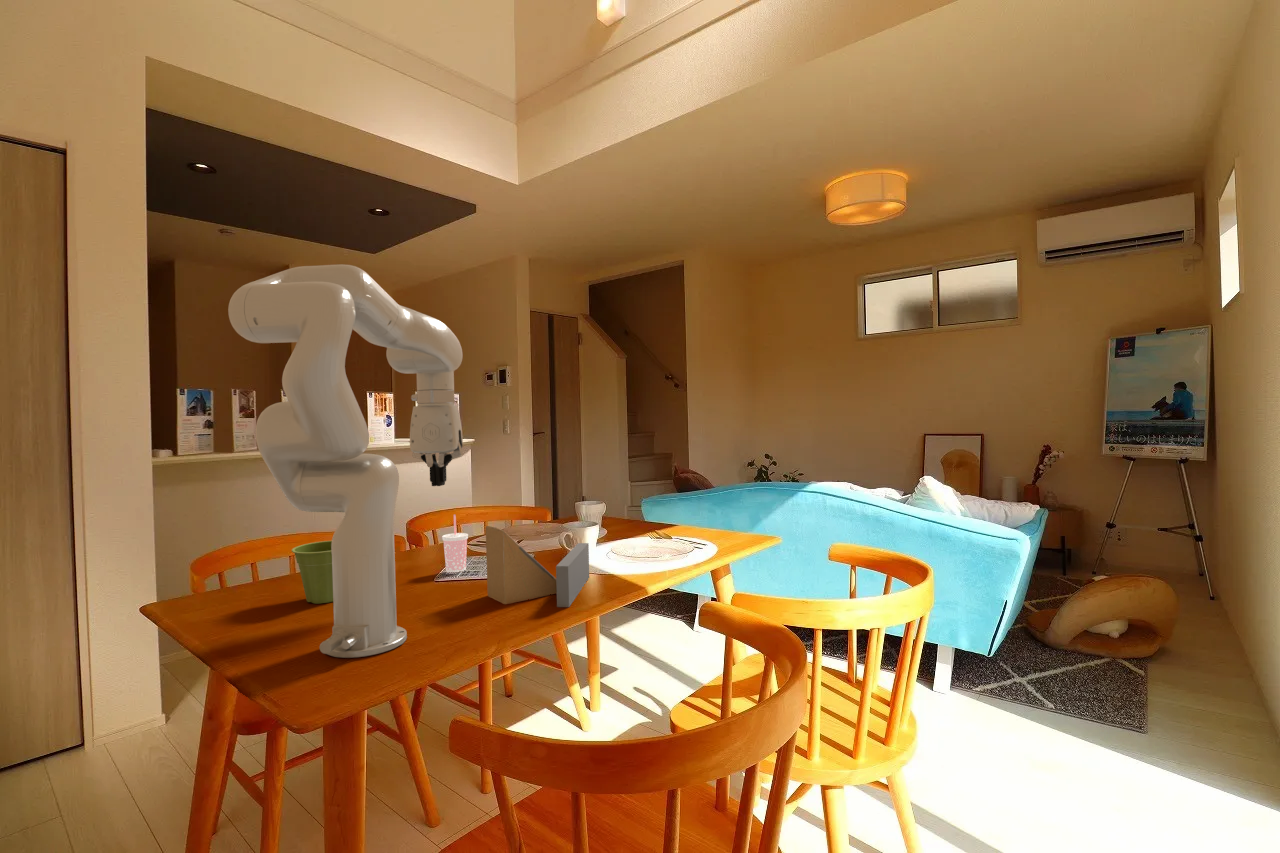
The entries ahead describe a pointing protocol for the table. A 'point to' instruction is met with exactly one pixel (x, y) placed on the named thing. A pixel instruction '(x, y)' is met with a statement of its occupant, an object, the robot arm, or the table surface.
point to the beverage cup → (455, 550)
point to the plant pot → (316, 570)
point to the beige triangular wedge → (514, 570)
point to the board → (572, 574)
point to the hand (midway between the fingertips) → (438, 485)
